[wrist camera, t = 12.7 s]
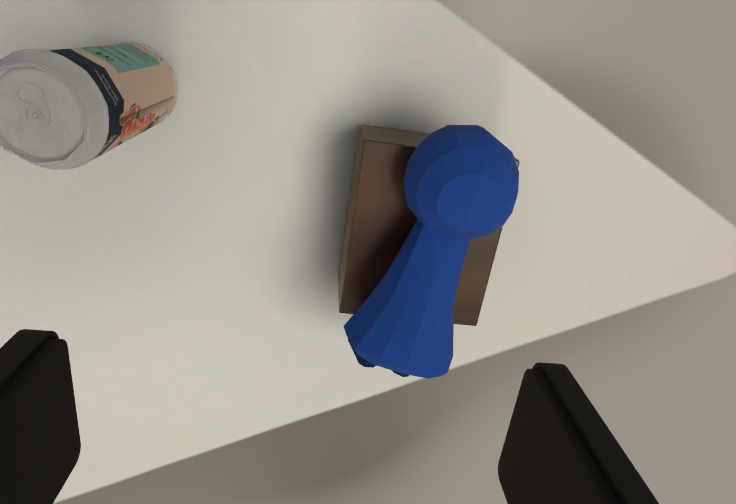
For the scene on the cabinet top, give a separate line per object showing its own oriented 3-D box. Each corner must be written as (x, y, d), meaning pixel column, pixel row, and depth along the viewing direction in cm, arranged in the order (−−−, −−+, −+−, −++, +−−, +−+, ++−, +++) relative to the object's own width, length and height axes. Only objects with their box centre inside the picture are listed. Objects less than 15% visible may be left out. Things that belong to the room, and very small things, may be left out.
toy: (427, 351, 35) (530, 142, 29) (444, 418, 29) (577, 175, 23) (330, 325, 34) (419, 100, 28) (329, 389, 28) (440, 125, 22)
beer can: (109, 128, 32) (-6, 180, 21) (86, 46, 30) (-53, 56, 19) (187, 121, 32) (113, 169, 21) (169, 38, 30) (78, 44, 19)
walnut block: (359, 123, 33) (363, 139, 28) (494, 142, 34) (520, 160, 30) (338, 278, 37) (339, 313, 33) (459, 290, 38) (476, 326, 34)
